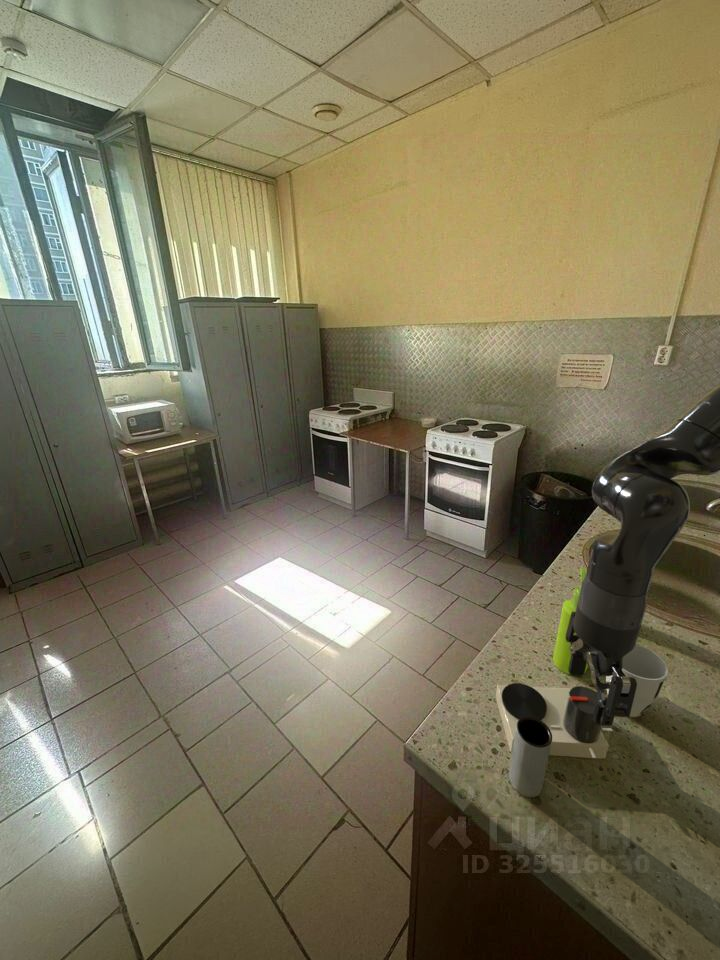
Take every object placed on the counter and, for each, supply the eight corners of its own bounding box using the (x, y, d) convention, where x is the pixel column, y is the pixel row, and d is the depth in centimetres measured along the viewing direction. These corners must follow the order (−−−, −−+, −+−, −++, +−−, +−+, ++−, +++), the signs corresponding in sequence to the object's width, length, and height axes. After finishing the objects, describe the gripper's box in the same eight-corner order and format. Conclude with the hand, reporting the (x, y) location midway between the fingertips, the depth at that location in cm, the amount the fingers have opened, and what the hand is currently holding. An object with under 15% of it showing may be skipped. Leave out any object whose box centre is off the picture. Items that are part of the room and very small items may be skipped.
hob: (586, 701, 69) (589, 688, 68) (623, 774, 58) (628, 759, 57) (495, 697, 70) (497, 684, 69) (514, 767, 59) (516, 752, 58)
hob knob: (590, 714, 64) (597, 685, 61) (605, 744, 59) (613, 714, 57) (557, 712, 64) (564, 683, 62) (570, 742, 59) (577, 712, 57)
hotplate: (538, 686, 69) (538, 684, 69) (553, 723, 62) (553, 721, 62) (497, 684, 69) (497, 682, 69) (507, 721, 63) (507, 718, 63)
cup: (654, 734, 63) (670, 688, 60) (597, 711, 67) (608, 666, 64) (651, 696, 70) (665, 652, 66) (599, 677, 74) (609, 635, 70)
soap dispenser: (585, 653, 79) (604, 569, 72) (587, 679, 73) (608, 590, 66) (553, 645, 82) (568, 562, 74) (552, 669, 76) (569, 582, 69)
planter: (531, 762, 60) (540, 713, 56) (548, 794, 56) (559, 744, 52) (503, 767, 59) (510, 718, 56) (518, 800, 55) (527, 750, 51)
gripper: (673, 649, 46) (641, 744, 52) (611, 578, 60) (591, 660, 65) (606, 646, 47) (582, 741, 53) (560, 577, 60) (544, 658, 66)
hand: (587, 696), depth 59 cm, fingers open, 8 cm apart
